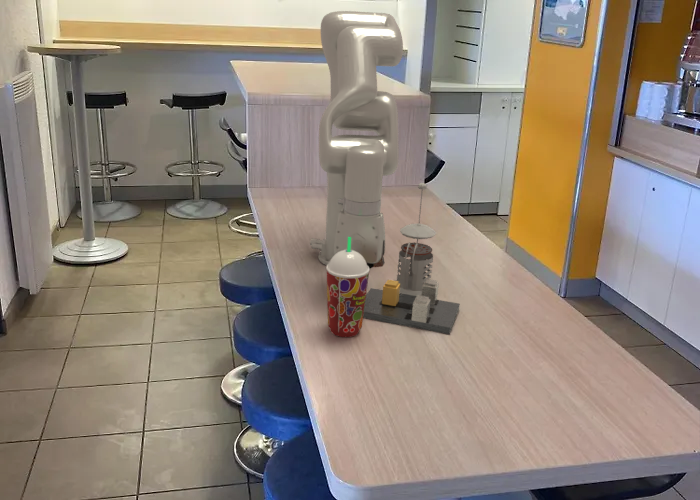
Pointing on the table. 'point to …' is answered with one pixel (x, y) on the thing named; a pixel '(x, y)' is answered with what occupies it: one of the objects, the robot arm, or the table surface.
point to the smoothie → (346, 291)
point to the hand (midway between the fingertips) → (357, 288)
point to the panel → (399, 313)
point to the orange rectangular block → (391, 293)
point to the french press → (415, 257)
